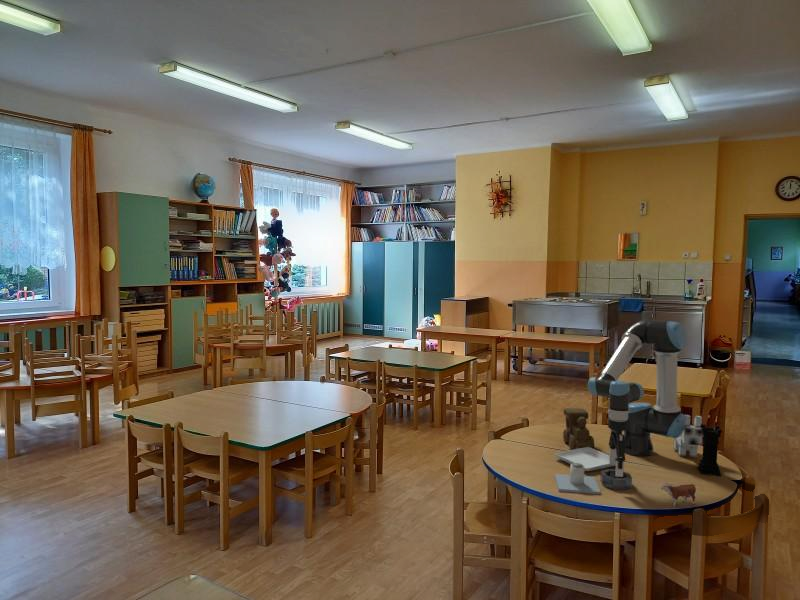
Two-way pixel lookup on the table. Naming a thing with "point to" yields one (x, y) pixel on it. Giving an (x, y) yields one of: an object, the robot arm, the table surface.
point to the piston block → (577, 481)
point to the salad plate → (586, 458)
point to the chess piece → (710, 451)
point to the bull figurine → (680, 491)
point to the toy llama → (689, 438)
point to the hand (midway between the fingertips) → (615, 470)
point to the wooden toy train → (577, 429)
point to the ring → (615, 480)
